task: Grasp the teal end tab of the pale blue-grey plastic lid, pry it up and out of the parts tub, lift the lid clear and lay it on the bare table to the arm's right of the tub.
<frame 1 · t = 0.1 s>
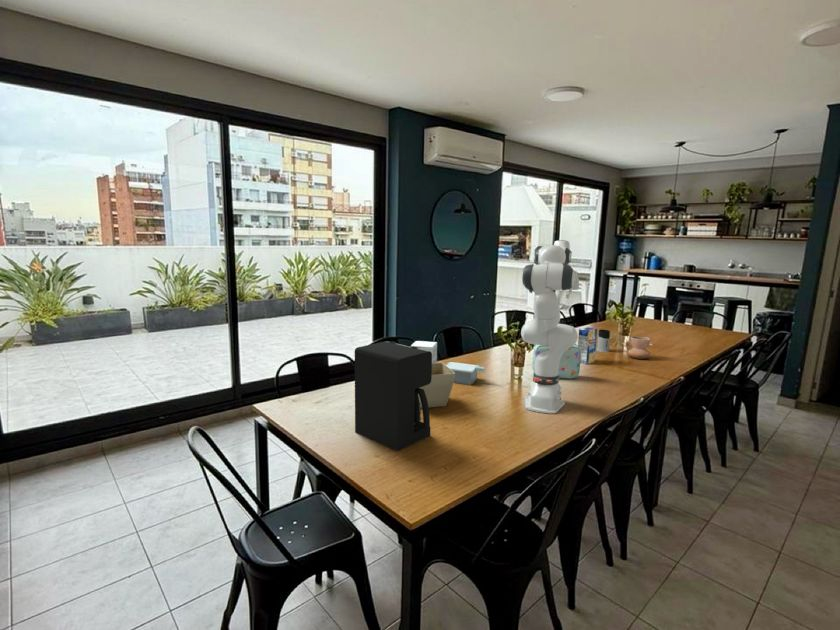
hand: (558, 297, 235), 48 cm above the table, fingers open, 8 cm apart
lunch box: (555, 377, 257), on the table
coffee maker: (396, 435, 175), on the table
flower pot: (429, 403, 211), on the table
lid: (460, 367, 246), point 7 cm above the table, touching tub
beverage box: (585, 362, 290), on the table
supplement box: (423, 372, 260), on the table
ceramic jug: (637, 357, 304), on the table
grey glossy rounded piece: (455, 376, 251), point 1 cm above the table, touching tub
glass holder: (606, 351, 320), on the table
tub: (460, 379, 247), on the table
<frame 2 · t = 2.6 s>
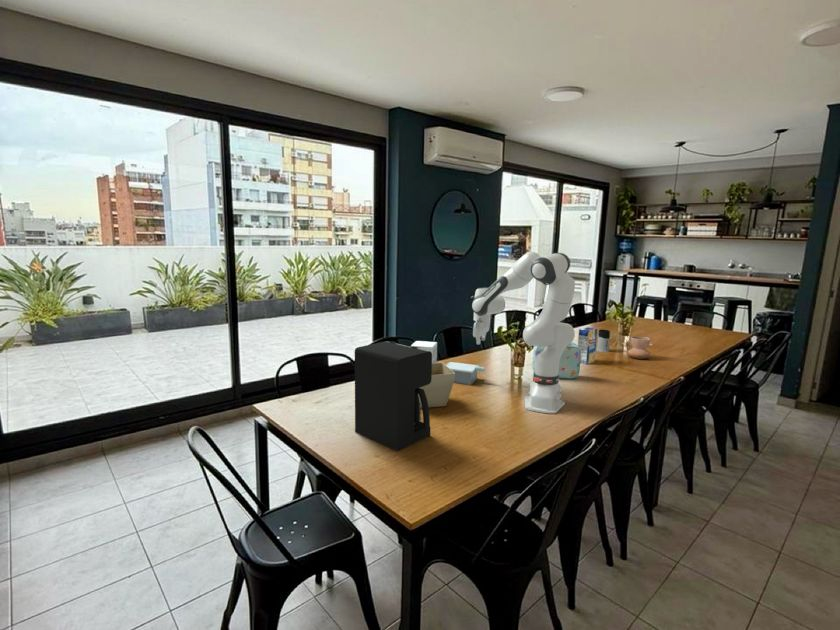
hand: (480, 342, 239), 23 cm above the table, fingers open, 8 cm apart
nothing on the table moved.
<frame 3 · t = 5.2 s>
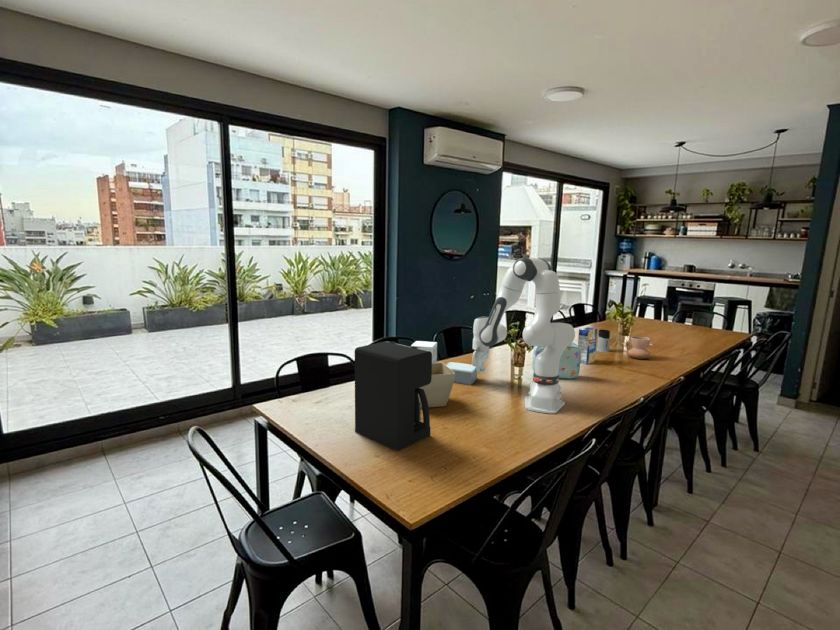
hand: (479, 370, 242), 7 cm above the table, fingers closed on lid, 3 cm apart
lid: (460, 367, 246), point 7 cm above the table, touching gripper, tub
everything else where it was.
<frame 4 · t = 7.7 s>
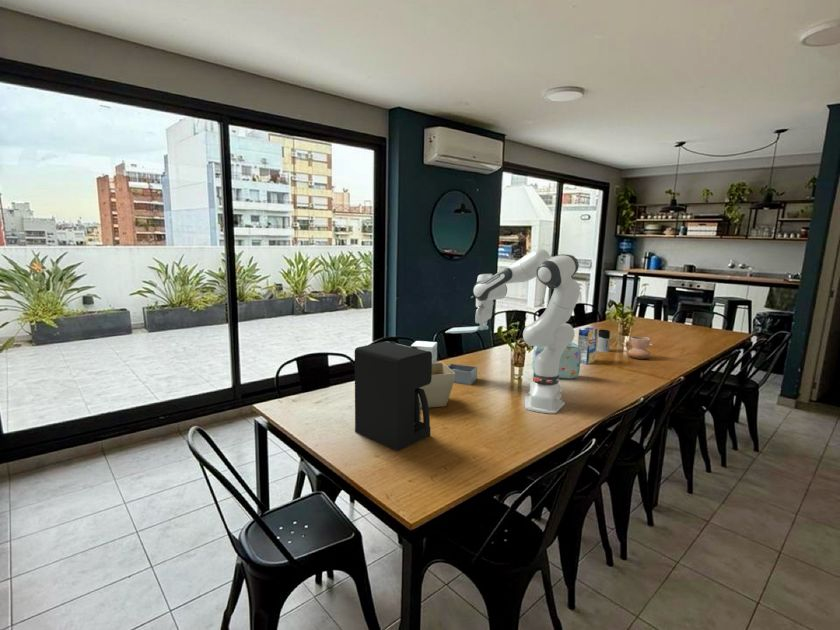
hand: (483, 329, 238), 30 cm above the table, fingers closed on lid, 3 cm apart
lid: (463, 330, 242), point 28 cm above the table, tilted 8°, touching gripper
everything else where it was.
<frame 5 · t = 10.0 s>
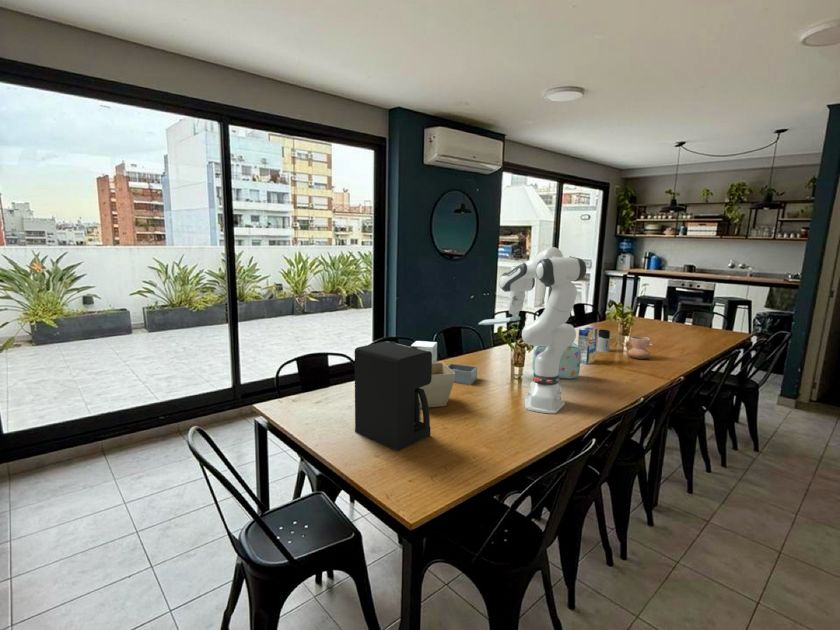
hand: (515, 320, 245), 34 cm above the table, fingers closed on lid, 3 cm apart
lid: (496, 321, 250), point 32 cm above the table, tilted 10°, touching gripper
everything else where it was.
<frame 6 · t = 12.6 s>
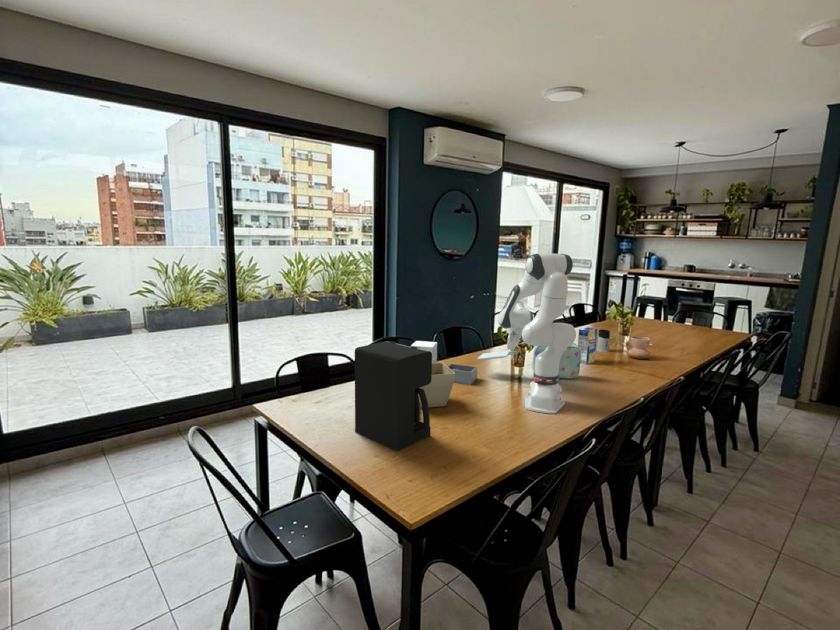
hand: (513, 353, 249), 15 cm above the table, fingers closed on lid, 3 cm apart
lid: (494, 355, 253), point 12 cm above the table, tilted 13°, touching gripper
everything else where it was.
when the fingers open (5 cm above the table, at t = 15.0 s): lid drops 2 cm, point 1 cm above the table.
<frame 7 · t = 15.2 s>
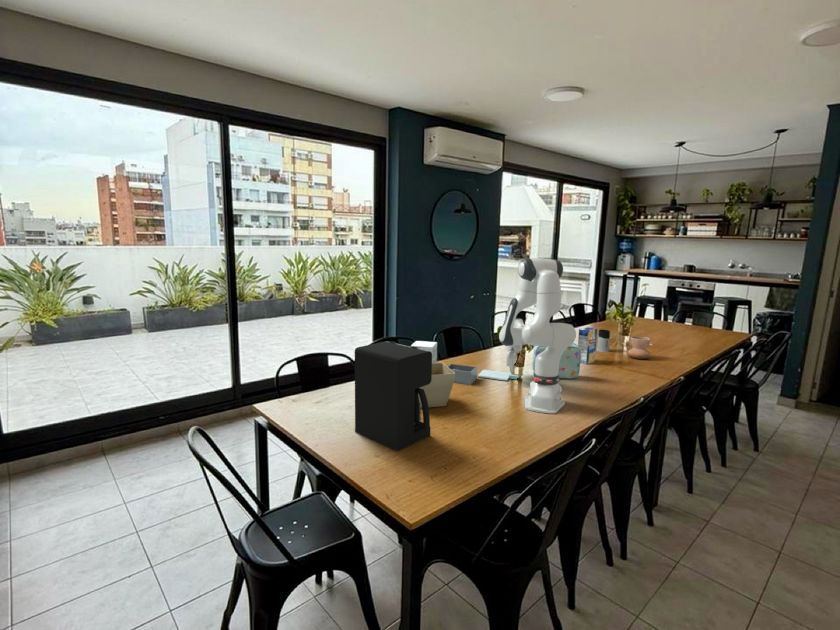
hand: (512, 370, 250), 5 cm above the table, fingers open, 5 cm apart
lid: (494, 375, 255), point 1 cm above the table
everything else where it was.
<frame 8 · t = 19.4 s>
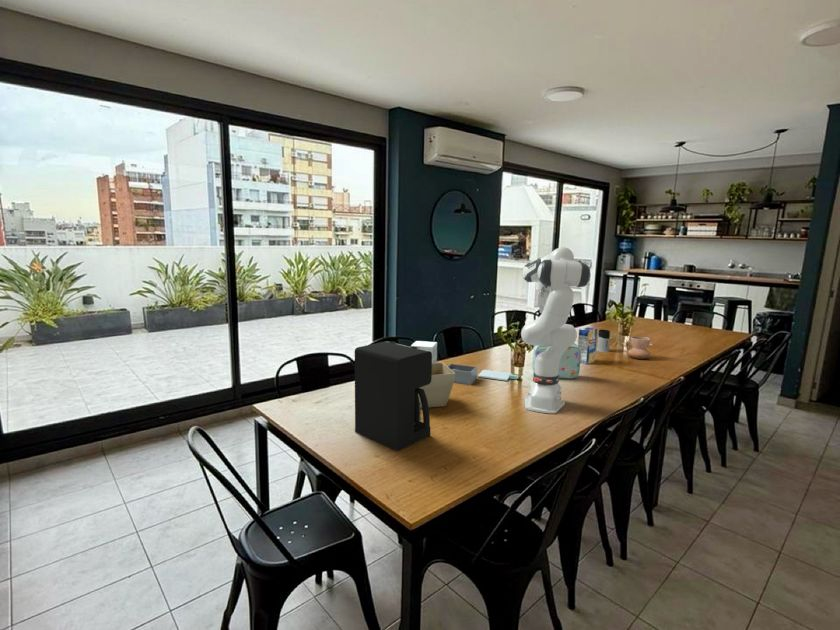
hand: (542, 311, 243), 39 cm above the table, fingers open, 8 cm apart
nothing on the table moved.
at the end: lid inside the target area (0.9 cm from its centre), point 0.5 cm above the table; lid touching table; the gripper is holding nothing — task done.
